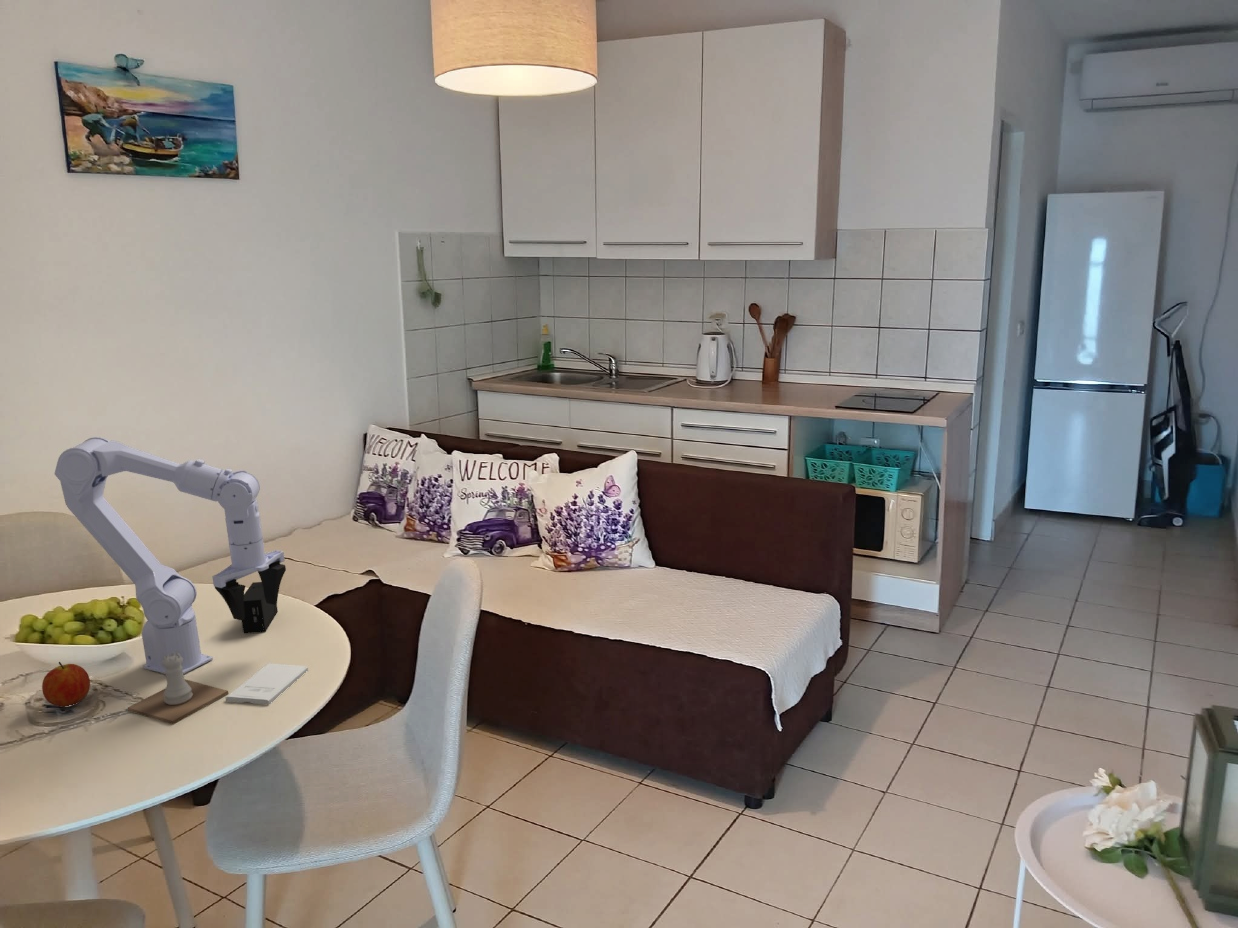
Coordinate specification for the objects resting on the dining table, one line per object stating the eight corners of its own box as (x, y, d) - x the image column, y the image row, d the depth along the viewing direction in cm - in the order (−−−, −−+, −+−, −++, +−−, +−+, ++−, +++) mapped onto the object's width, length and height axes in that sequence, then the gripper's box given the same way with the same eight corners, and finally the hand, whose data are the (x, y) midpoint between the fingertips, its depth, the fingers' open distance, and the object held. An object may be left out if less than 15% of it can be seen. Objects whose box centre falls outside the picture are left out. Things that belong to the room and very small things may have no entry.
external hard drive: (308, 674, 168) (269, 708, 157) (267, 671, 170) (225, 704, 158) (307, 665, 168) (268, 699, 156) (266, 662, 170) (224, 695, 158)
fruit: (89, 690, 164) (81, 648, 162) (97, 704, 158) (88, 661, 157) (43, 703, 160) (34, 660, 158) (49, 719, 154) (40, 674, 152)
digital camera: (251, 613, 195) (246, 582, 193) (278, 611, 196) (273, 580, 194) (237, 634, 185) (232, 601, 183) (265, 632, 186) (260, 599, 184)
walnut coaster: (128, 710, 156) (127, 707, 156) (184, 681, 166) (183, 678, 165) (173, 724, 151) (172, 720, 151) (228, 693, 161) (228, 690, 160)
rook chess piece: (169, 694, 160) (162, 651, 158) (197, 692, 160) (190, 649, 158) (160, 707, 156) (152, 662, 154) (188, 704, 156) (181, 660, 154)
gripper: (228, 555, 160) (239, 629, 164) (292, 530, 173) (301, 599, 176) (200, 550, 163) (211, 623, 167) (264, 526, 176) (274, 594, 179)
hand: (255, 610), depth 172 cm, fingers open, 7 cm apart
